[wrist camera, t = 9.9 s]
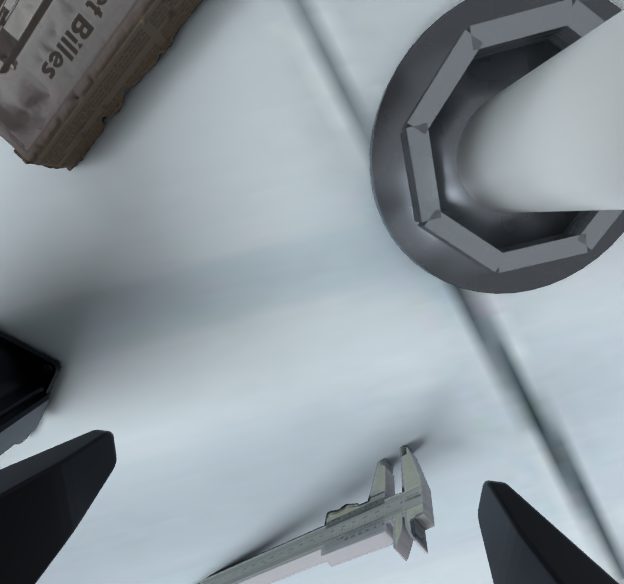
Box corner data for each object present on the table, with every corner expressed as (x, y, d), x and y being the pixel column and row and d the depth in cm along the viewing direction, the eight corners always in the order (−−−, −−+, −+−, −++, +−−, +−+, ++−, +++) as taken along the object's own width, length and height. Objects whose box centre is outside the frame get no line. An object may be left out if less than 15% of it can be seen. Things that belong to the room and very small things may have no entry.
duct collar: (317, 202, 19) (317, 200, 17) (484, -79, 16) (508, -121, 14) (528, 336, 20) (550, 348, 18) (712, 103, 17) (762, 89, 15)
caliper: (404, 439, 22) (439, 524, 16) (413, 450, 22) (452, 539, 16) (182, 591, 25) (139, 712, 19) (192, 599, 25) (153, 723, 19)
